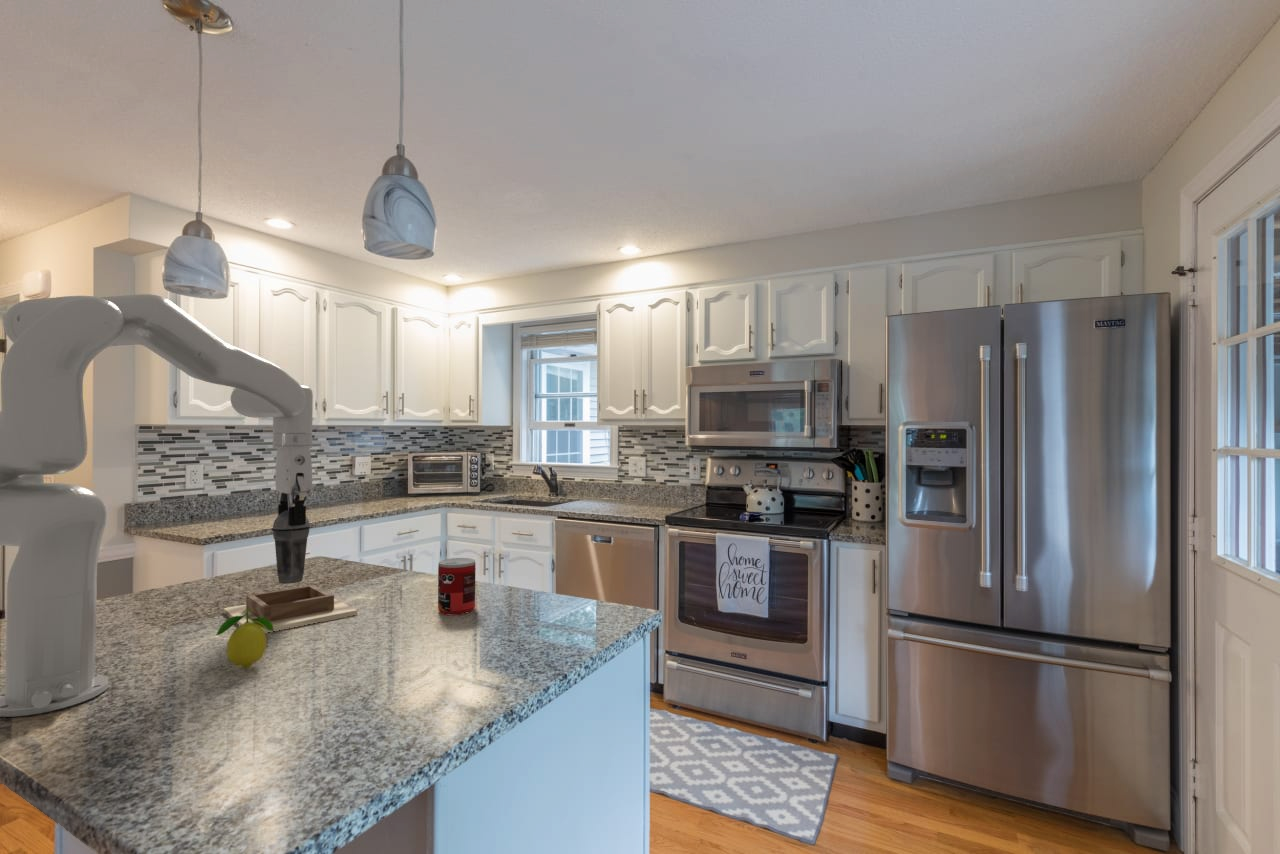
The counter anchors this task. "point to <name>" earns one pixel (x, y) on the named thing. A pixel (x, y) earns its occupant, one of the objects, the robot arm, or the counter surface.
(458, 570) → the canned food
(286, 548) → the beverage cup
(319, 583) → the counter surface
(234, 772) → the counter surface
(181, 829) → the counter surface
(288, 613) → the cup holder
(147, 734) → the counter surface
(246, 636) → the lemon
